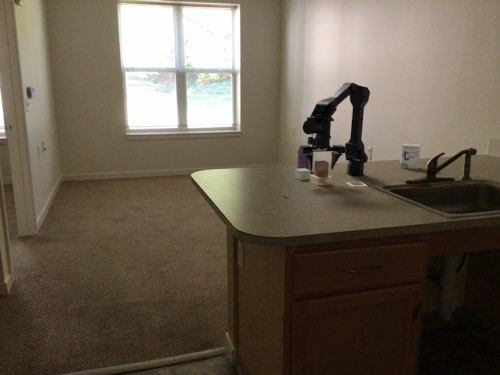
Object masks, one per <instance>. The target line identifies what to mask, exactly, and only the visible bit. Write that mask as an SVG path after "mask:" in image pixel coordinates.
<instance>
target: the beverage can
mask: <svg viewBox="0 0 500 375" xmlns="http://www.w3.org/2000/svg"><path fill="white" fill-rule="evenodd" d="M300 146H301V145H300ZM300 146H299V147H300ZM311 154H312V155H313V156H314V152H312V153H311ZM313 164H314V162H313V163H312V170H311V172H313V166H314V165H313ZM302 168H306V169H308V170H310V167H309V164H308V161H307V158H306V156H305V155H303V154H302V153H300V152H299V149H298V150H297V168H296V169H302Z"/></svg>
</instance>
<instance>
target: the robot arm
mask: <svg viewBox="0 0 500 375" xmlns="http://www.w3.org/2000/svg"><path fill="white" fill-rule="evenodd" d="M370 95H371V90H370V89H369V88H368V87H367V86H362V85H359V84H356V83H355V82H344V83H343V84H342V86H341V87H339V88H338V89H337V90H336V91H335V92H334V93H332V94H331V95H330V96H329V97H327V98H324V99H320V100H319V101H317V103H316V104H315V106H314V108H313V110H312V112H311V114H310V116H307V117H306V120H305V121H304V122H303V123H302V124H303V125H302V131H303V133H304V134H306V135H315V136H314V137H313V136H308V137H307V145H301V144H300V147H299V148H298V150H299V152H300V153H302V154H303V155H305V156H306V158H307V161H308V164H309V167H310V170H312V171H313V169H312V163H313V164H314V154H313V155H312V154H311V153H312V152H313V153H314V152H315V153H317V152H324V153H325V152H330V153H331V161H330V170H333V169H334V167H335V165H336V164H337V162H338V160H339V159H340V157H342V156H343V155H345V161H348V163H347V167H346V168H347V170H346V174H348V175H350V176H351V177H352V176H353V177H355V176H356V177H357V176H365V173H364V168H365V164H366V163H368V160H369V157H368V154H367V153H366V150H365V144H364V142H363V140H362V135H363V126H364V124H363V123H364V114H365V113H364V112H365V107H366V106H367V105H368V102H369V100H370ZM348 97H349V103H350V104H351V106H352V112H351V124H350V126H351V128H350V137H349V140H348V141H347V142H345V143H344V145H342V144H332V146H331V145H330V144H331V139H332V136H331V129H332V122H334V121H335V119H334V118H333V117H332V116H333V115H334V114H335V113H336V112H337V110H338V106H339V105H340V104H341V103H342V102H344V100H346V98H348Z"/></svg>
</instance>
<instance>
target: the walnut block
mask: <svg viewBox="0 0 500 375" xmlns="http://www.w3.org/2000/svg"><path fill="white" fill-rule="evenodd" d="M329 163H330V162H328V161H327V160H314V165H313V166H314V170H313V174H314V175H315V176H317V177H328V175H329V167H330V165H329Z"/></svg>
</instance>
